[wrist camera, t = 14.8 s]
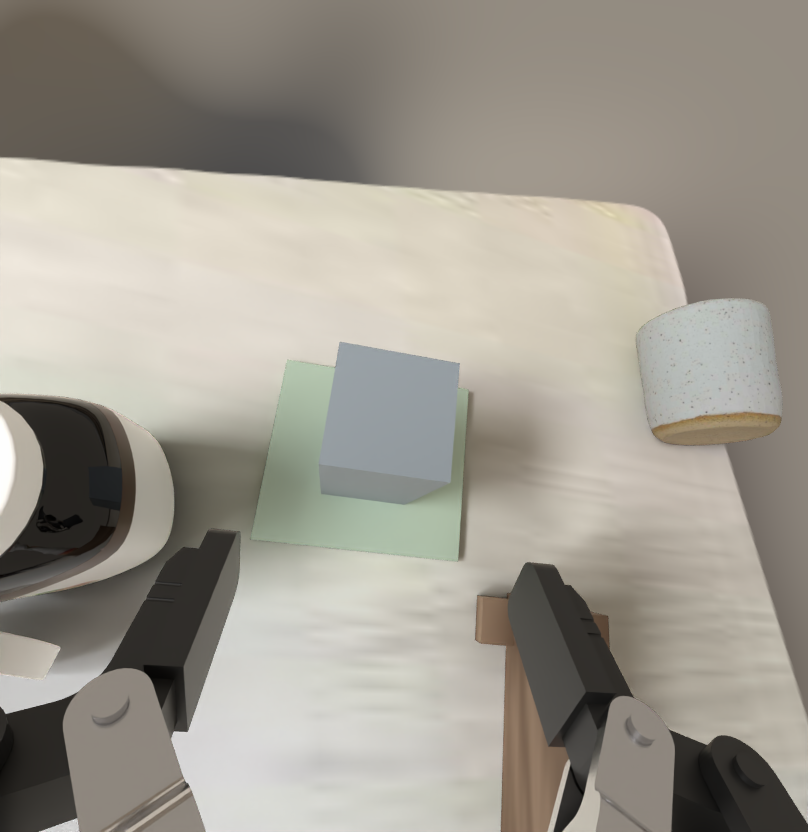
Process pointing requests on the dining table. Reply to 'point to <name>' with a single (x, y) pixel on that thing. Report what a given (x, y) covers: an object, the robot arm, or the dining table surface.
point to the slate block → (388, 425)
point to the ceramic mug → (710, 373)
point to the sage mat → (341, 516)
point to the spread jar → (73, 505)
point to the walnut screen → (523, 729)
